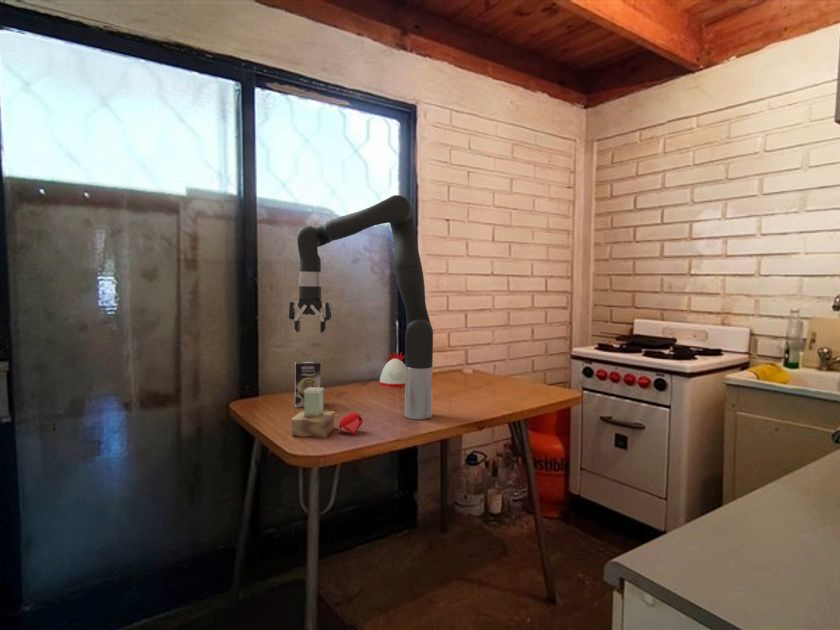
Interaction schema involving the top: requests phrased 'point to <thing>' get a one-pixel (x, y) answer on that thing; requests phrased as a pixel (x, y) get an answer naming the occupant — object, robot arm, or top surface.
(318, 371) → the coffee box
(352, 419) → the cap
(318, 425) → the beige flat block
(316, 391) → the tea tin
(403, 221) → the robot arm
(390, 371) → the kitchen timer
